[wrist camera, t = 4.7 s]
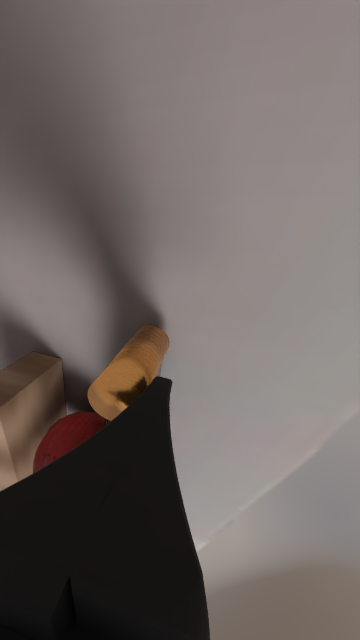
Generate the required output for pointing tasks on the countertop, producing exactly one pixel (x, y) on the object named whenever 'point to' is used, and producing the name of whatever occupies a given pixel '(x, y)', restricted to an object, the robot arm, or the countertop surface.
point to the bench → (27, 412)
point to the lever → (129, 372)
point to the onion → (66, 436)
